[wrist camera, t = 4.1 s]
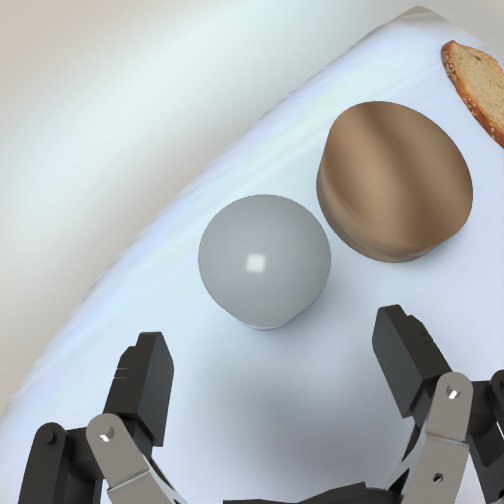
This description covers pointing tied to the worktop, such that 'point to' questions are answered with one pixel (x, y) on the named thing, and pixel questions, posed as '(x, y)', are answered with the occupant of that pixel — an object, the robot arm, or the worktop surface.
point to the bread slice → (477, 85)
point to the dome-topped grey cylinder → (264, 260)
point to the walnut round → (392, 182)
